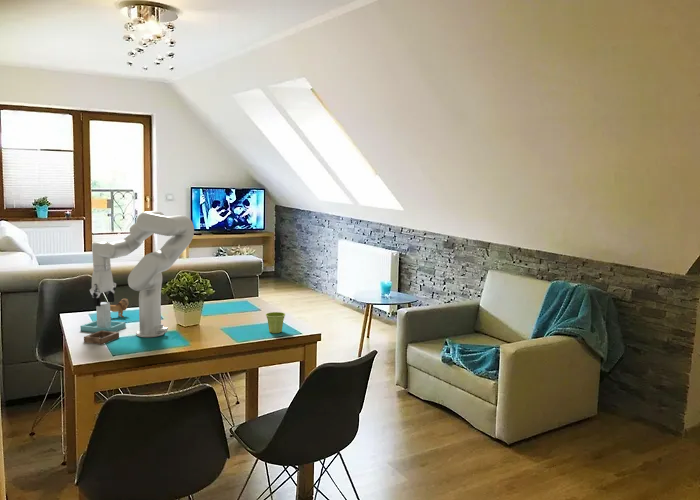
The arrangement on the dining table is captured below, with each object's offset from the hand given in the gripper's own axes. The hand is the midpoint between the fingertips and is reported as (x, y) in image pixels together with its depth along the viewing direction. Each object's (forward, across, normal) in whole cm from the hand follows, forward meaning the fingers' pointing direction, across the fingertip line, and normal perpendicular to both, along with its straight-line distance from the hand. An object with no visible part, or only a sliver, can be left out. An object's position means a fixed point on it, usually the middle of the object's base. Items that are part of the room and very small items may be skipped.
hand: (104, 303), depth 283 cm
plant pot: (+16, -26, +76) cm, 81 cm away
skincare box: (+12, 0, -1) cm, 12 cm away
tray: (+12, 0, -1) cm, 12 cm away
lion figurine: (+12, -22, -12) cm, 28 cm away
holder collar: (+13, +15, +10) cm, 22 cm away
